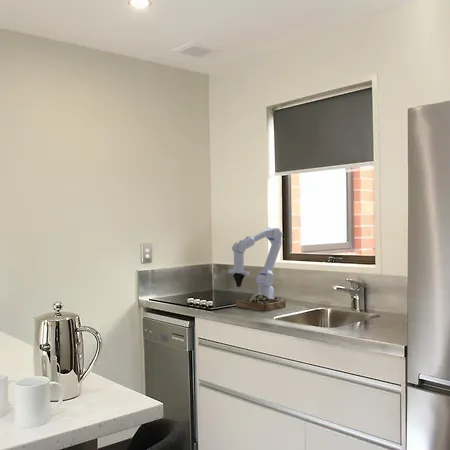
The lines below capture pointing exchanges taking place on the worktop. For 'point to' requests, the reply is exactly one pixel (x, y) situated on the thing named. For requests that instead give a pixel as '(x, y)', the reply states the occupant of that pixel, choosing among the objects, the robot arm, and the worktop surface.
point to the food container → (259, 298)
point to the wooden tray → (262, 305)
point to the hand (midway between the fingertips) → (238, 286)
